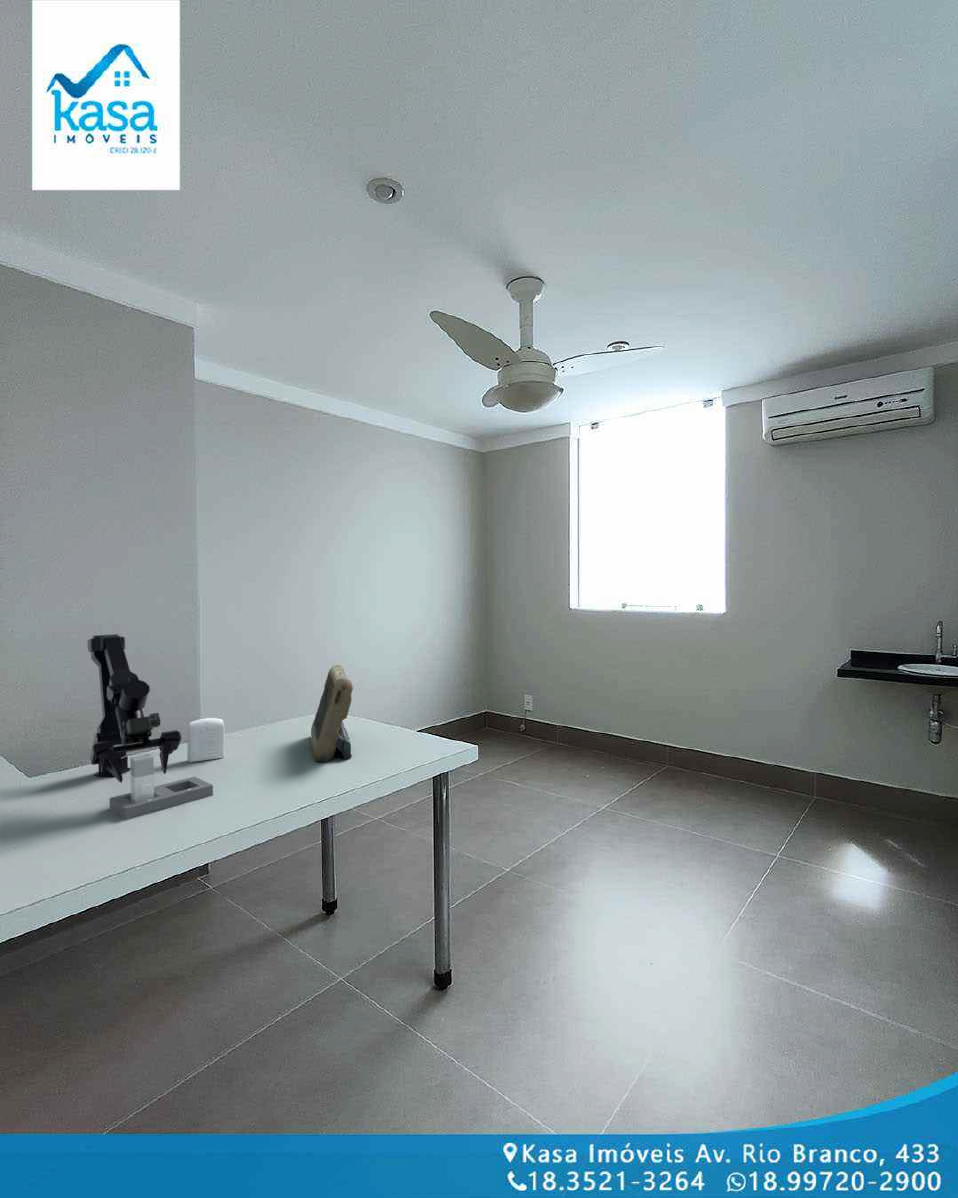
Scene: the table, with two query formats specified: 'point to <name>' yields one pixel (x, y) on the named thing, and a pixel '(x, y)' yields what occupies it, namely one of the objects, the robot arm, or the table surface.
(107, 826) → the table surface
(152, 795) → the plug
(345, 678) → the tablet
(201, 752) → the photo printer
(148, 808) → the socket plate
